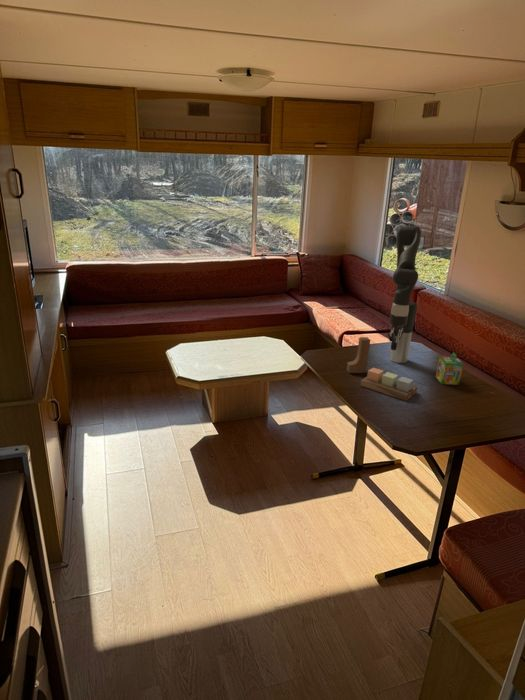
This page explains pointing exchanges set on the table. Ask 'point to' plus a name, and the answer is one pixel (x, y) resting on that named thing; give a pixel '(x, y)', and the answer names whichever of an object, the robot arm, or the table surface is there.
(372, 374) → the terracotta key
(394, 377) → the sage key
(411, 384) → the slate key
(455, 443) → the table surface
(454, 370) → the chalk box
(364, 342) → the wooden block
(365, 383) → the wooden tray
